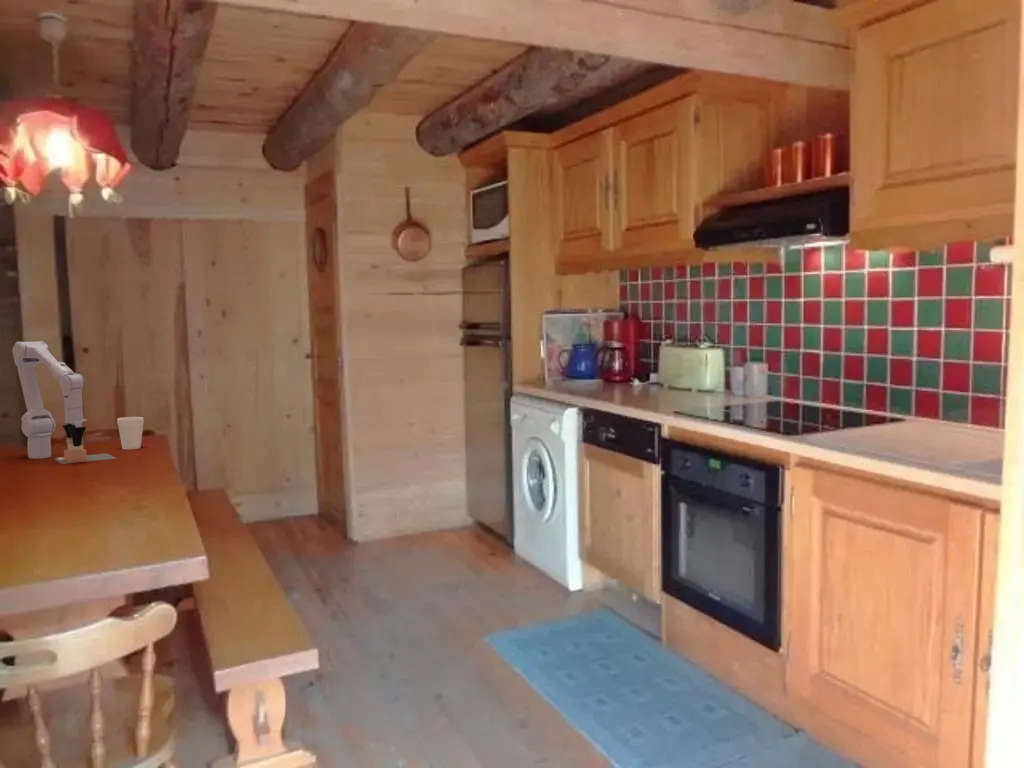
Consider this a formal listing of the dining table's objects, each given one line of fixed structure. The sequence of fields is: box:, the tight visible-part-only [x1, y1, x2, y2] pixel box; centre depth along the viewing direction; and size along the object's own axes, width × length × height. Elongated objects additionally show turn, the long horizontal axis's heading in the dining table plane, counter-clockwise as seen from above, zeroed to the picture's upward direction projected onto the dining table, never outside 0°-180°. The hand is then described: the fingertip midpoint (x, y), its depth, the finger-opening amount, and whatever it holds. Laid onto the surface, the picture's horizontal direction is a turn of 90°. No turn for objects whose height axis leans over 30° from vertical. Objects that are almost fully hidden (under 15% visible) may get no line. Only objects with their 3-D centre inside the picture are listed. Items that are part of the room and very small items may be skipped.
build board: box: [53, 452, 117, 465], centre depth 294 cm, size 14×18×1 cm
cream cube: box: [66, 437, 84, 451], centre depth 288 cm, size 4×4×4 cm
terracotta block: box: [63, 448, 88, 464], centre depth 289 cm, size 6×6×4 cm
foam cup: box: [116, 416, 145, 450], centre depth 318 cm, size 10×9×13 cm
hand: (74, 445), depth 288 cm, fingers open, 6 cm apart
